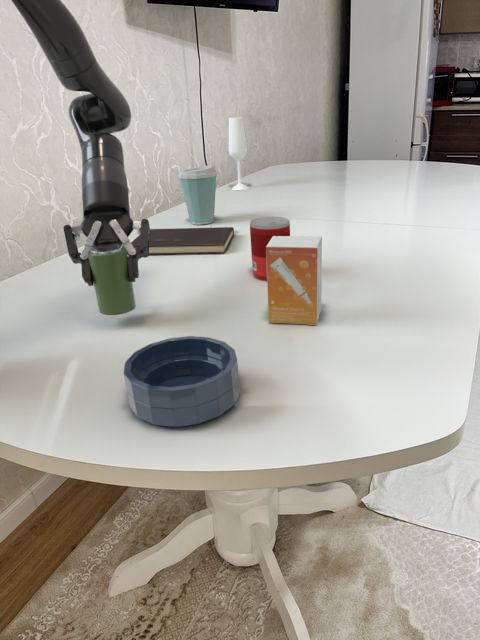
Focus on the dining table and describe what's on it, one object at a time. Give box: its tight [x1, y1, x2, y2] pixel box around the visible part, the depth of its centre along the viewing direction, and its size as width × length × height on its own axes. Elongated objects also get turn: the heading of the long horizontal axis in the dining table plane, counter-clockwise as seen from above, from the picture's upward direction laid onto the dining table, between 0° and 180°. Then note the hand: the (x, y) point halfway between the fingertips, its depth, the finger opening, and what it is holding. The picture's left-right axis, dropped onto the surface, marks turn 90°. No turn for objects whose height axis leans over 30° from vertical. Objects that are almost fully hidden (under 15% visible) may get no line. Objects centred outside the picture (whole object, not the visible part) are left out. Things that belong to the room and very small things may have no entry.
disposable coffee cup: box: [178, 165, 218, 226], centre depth 146 cm, size 11×11×15 cm
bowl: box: [123, 335, 241, 428], centre depth 65 cm, size 14×14×6 cm
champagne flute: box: [228, 116, 250, 191], centre depth 187 cm, size 7×7×24 cm
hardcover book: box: [130, 226, 235, 256], centre depth 129 cm, size 16×23×2 cm
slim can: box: [88, 243, 137, 316], centre depth 85 cm, size 6×6×10 cm
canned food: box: [249, 216, 291, 282], centre depth 104 cm, size 8×8×11 cm
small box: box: [266, 235, 323, 326], centre depth 84 cm, size 8×6×13 cm
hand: (111, 281), depth 84 cm, fingers closed on slim can, 6 cm apart
